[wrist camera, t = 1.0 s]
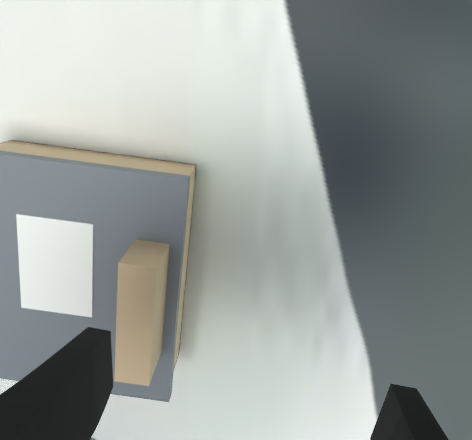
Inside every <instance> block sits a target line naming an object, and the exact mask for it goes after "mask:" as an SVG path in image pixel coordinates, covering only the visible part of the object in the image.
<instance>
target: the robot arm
mask: <svg viewBox="0 0 472 440" xmlns="http://www.w3.org/2000/svg"><path fill="white" fill-rule="evenodd" d="M112 389H113V369H112V347H111V331H108V330H103V329H97V328H92V327H88V328H86V329H85V330H83V331H82V332H81V333H80V334H78V335H77V336H76V337H75V338H73V339H72V340H71V341H70V342H68V343H67V344H66V345H65V346H63V347H62V348H61V349H60V350H58V351H57V352H56V353H55V354H53V355H52V356H51V357H50V358H48V359H47V360H46V361H45V362H43V363H42V364H41V365H40V366H38V367H37V368H36V369H34V370H33V371H32V372H30V373H29V374H28V375H26V376H25V377H24V378H22V379H21V380H20V381H19V382H17V383H16V384H15V385H13V386H12V387H10V388H9V389H8V390H6V391H5V392H3V393H2V394H1V395H0V440H90V438H91V437H92V435H93V433H94V431H95V429H96V427H97V425H98V423H99V421H100V418H101V416H102V413H103V411H104V409H105V406H106V404H107V401H108V399H109V396H110V394H111V391H112ZM370 439H371V440H448V438H447V437H446V435H445V434H444V432H443V430H442V429H441V427H440V425H439V424H438V422H437V421H436V419H435V417H434V416H433V414H432V413H431V411H430V409H429V408H428V406H427V405H426V403H425V402H424V400H423V398H422V396H421V395H420V393H419V392H418V391H417V389H415V388H410V387H405V386H399V385H394V384H391V385H390V387H389V391H388V393H387V395H386V398H385V401H384V403H383V406H382V409H381V412H380V414H379V417H378V419H377V422H376V425H375V427H374V430H373V433H372V435H371V438H370Z"/></svg>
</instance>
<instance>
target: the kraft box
mask: <svg viewBox="0 0 472 440" xmlns="http://www.w3.org/2000/svg"><path fill="white" fill-rule="evenodd" d="M0 151H8V152H15V153H23V154H30V155H38V156H45V157H53V158H60V159H68V160H75V161H83V162H90V163H98V164H105V165H113V166H120V167H128V168H136V169H143V170H151V171H158V172H166V173H173V174H181V175H188V176H190V188H189V199H188V210H187V222H186V233H185V244H184V256H183V267H182V278H181V290H180V301H179V312H178V324H177V335H176V346H175V358H174V368H175V364H176V361H177V357H178V354H179V347H180V336H181V325H182V314H183V303H184V292H185V281H186V271H187V260H188V249H189V238H190V227H191V216H192V205H193V194H194V184H195V173H196V165H195V164H187V163H180V162H172V161H165V160H157V159H150V158H142V157H134V156H127V155H119V154H112V153H104V152H97V151H89V150H82V149H74V148H67V147H59V146H51V145H44V144H36V143H29V142H21V141H14V140H10V141H6V142H3V143H0ZM173 371H174V369H173Z"/></svg>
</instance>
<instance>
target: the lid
mask: <svg viewBox="0 0 472 440" xmlns="http://www.w3.org/2000/svg"><path fill="white" fill-rule="evenodd" d="M189 188H190V176H188V175H181V174H173V173H166V172H158V171H151V170H143V169H136V168H128V167H120V166H113V165H105V164H98V163H90V162H83V161H75V160H68V159H60V158H53V157H45V156H38V155H30V154H23V153H15V152H8V151H0V378H1V379H9V380H16V381H20V380H21V379H22V378H24V377H25V376H26V375H28V374H29V373H30V372H32V371H33V370H34V369H36V368H37V367H38V366H40V365H41V364H42V363H43V362H45V361H46V360H47V359H48V358H50V357H51V356H52V355H53V354H55V353H56V352H57V351H58V350H60V349H61V348H62V347H63V346H65V345H66V344H67V343H68V342H70V341H71V340H72V339H73V338H75V337H76V336H77V335H78V334H80V333H81V332H82V331H83V330H85V329H86V328H88V327H92V328H97V329H103V330H108V331H111V347H112V369H113V389H112V391H111V394H116V395H123V396H130V397H137V398H144V399H151V400H158V401H166V402H169V400H170V396H171V392H172V380H173V369H174V358H175V346H176V335H177V324H178V312H179V301H180V290H181V278H182V267H183V256H184V244H185V233H186V222H187V210H188V199H189Z"/></svg>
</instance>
